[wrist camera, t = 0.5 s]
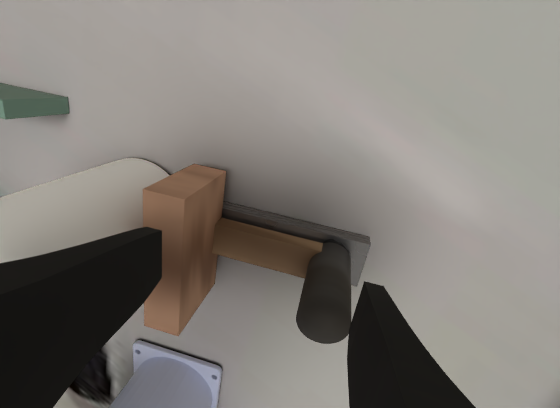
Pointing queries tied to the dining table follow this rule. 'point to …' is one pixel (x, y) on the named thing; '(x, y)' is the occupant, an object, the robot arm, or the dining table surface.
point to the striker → (235, 257)
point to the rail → (304, 232)
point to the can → (75, 208)
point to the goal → (29, 103)
